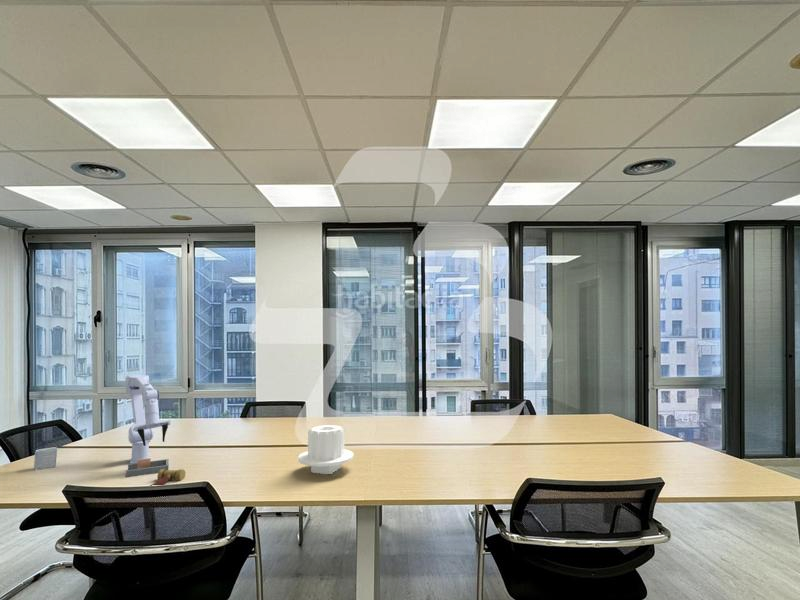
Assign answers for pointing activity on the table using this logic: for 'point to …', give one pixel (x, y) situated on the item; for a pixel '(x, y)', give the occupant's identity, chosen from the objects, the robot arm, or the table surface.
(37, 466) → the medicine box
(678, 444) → the table surface
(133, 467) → the grey u-shaped frame
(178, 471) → the gavel
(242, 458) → the table surface
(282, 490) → the table surface
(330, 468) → the ribbed cylinder on disc
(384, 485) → the table surface
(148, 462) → the cube
